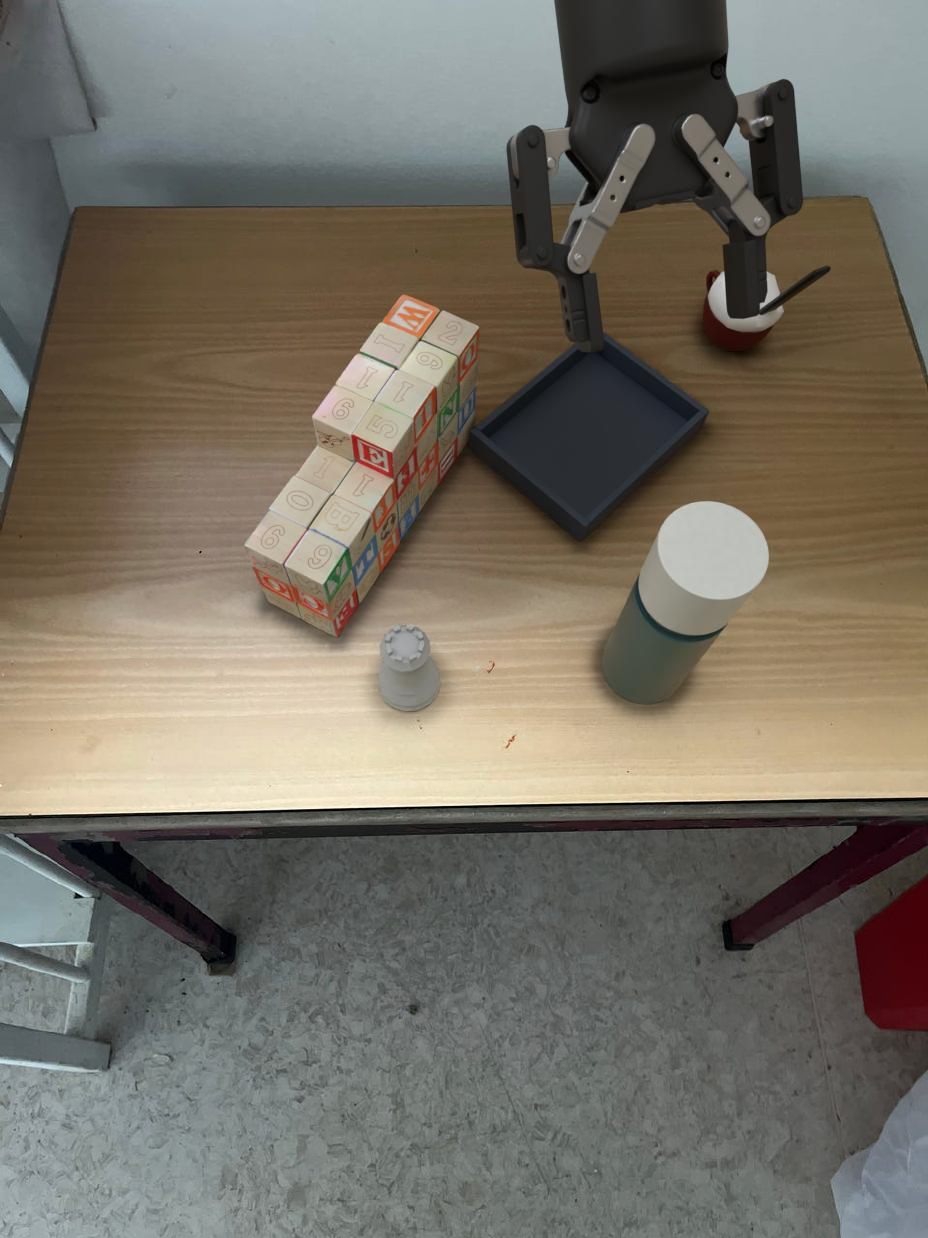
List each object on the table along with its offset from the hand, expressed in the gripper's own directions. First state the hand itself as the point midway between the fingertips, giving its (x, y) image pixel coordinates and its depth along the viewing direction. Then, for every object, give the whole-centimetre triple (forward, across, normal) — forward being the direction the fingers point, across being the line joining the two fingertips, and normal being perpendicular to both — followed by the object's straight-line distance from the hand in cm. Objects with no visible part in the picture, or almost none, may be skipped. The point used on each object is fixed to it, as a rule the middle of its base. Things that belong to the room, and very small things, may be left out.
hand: (668, 333), depth 44 cm
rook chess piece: (+22, -17, +12) cm, 30 cm away
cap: (+15, 0, 0) cm, 15 cm away
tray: (+10, +3, +24) cm, 26 cm away
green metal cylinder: (+24, 0, +10) cm, 26 cm away
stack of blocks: (+11, -16, +22) cm, 29 cm away
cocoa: (+5, +18, +28) cm, 34 cm away
